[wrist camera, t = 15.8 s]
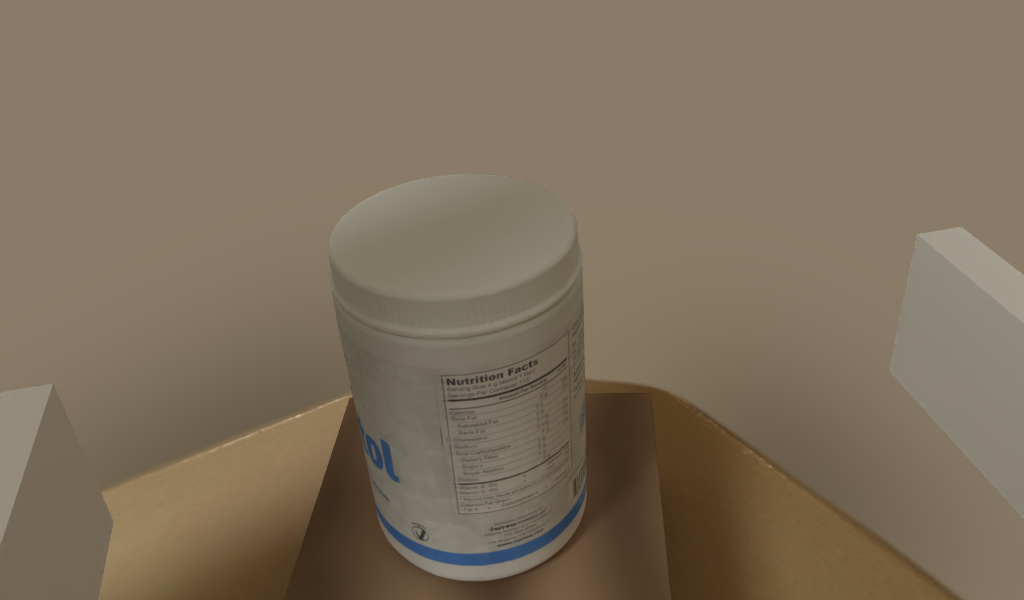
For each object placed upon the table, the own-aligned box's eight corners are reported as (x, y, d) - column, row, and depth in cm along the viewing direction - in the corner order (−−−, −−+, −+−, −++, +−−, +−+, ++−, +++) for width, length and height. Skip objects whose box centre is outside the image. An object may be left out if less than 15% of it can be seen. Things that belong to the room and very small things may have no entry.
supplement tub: (350, 484, 44) (286, 210, 36) (523, 412, 47) (501, 148, 39) (435, 631, 37) (378, 329, 29) (632, 533, 40) (632, 239, 32)
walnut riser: (295, 746, 39) (264, 659, 36) (367, 479, 53) (349, 398, 49) (673, 753, 38) (677, 663, 35) (649, 476, 51) (650, 392, 48)
